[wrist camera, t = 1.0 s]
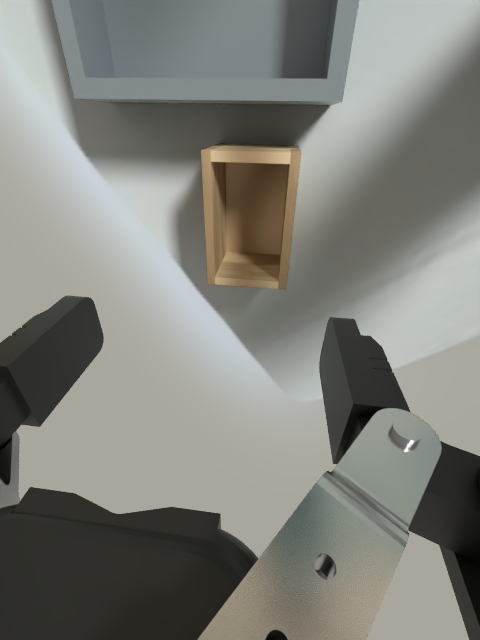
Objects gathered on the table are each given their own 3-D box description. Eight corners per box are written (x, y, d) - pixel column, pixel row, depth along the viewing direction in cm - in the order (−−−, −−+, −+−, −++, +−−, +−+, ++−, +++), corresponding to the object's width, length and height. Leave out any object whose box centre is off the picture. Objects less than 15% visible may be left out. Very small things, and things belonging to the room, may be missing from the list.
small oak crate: (297, 145, 23) (301, 152, 18) (285, 259, 28) (286, 289, 23) (219, 143, 23) (201, 150, 18) (221, 255, 28) (207, 283, 23)
